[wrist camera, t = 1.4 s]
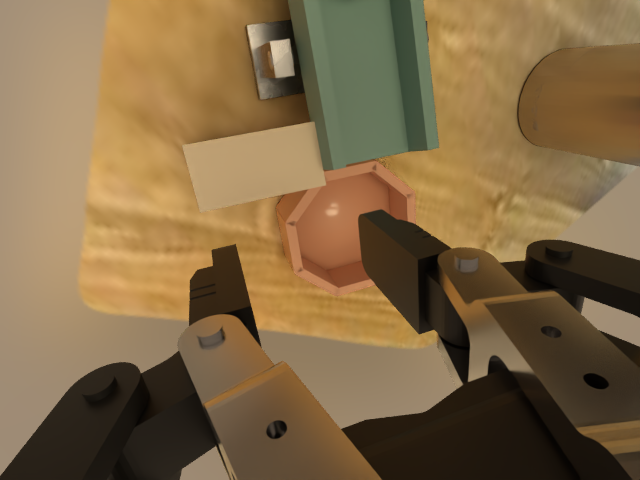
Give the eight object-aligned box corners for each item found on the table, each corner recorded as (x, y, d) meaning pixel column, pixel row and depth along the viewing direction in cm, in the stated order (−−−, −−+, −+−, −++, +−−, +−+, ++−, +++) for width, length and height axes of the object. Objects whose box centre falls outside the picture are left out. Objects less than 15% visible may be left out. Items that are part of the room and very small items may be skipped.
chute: (372, -62, 25) (415, -126, 20) (402, 164, 29) (446, 163, 23) (134, -45, 22) (106, -116, 16) (202, 207, 25) (198, 219, 20)
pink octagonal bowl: (391, 145, 35) (414, 152, 31) (397, 255, 40) (416, 273, 36) (268, 170, 32) (277, 181, 29) (290, 284, 37) (300, 306, 34)
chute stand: (382, 10, 30) (431, -7, 24) (385, 78, 32) (431, 79, 26) (245, 26, 27) (259, 12, 21) (258, 98, 30) (275, 104, 24)
